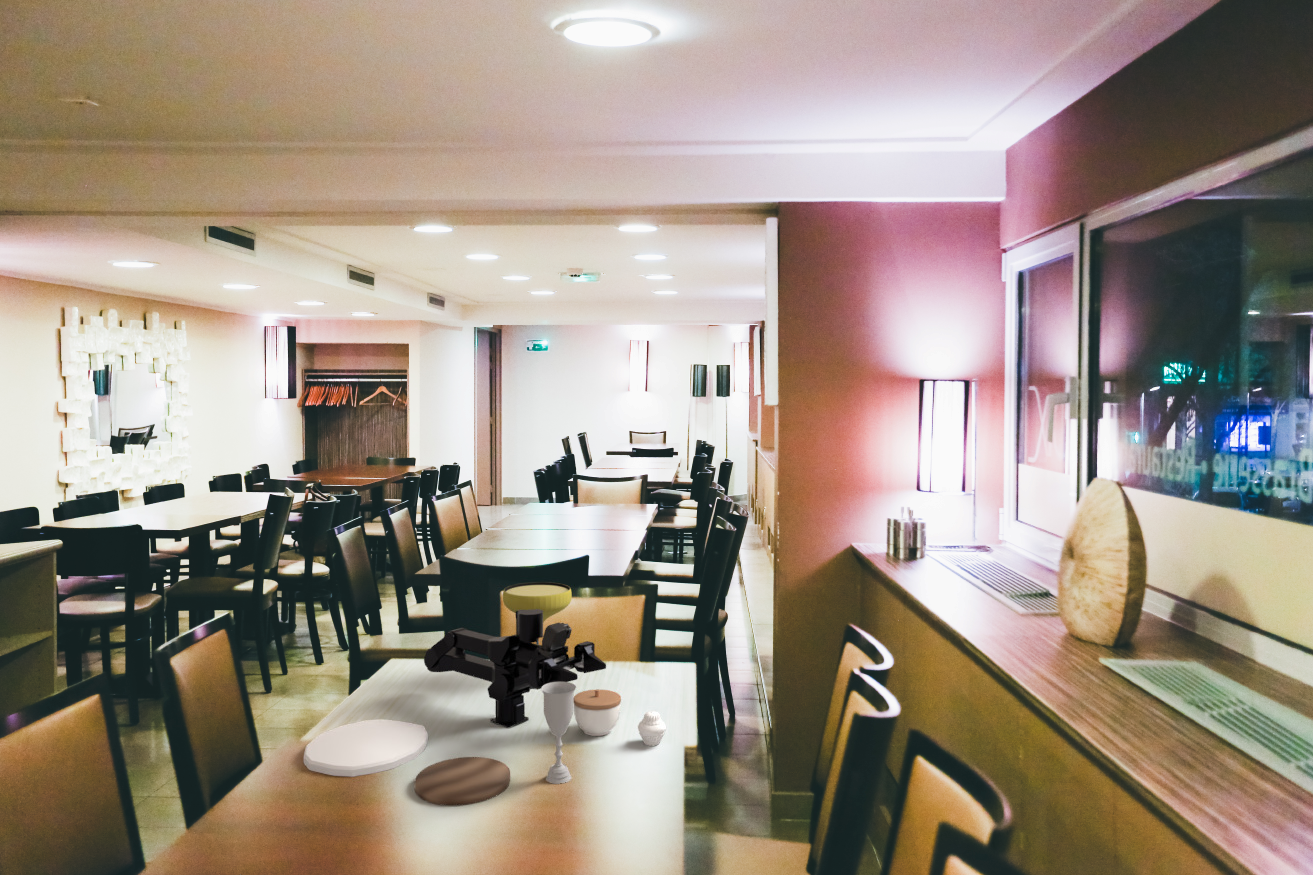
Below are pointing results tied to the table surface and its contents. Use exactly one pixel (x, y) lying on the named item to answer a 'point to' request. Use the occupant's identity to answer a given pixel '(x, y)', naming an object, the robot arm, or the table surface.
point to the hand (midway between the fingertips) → (591, 671)
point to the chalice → (558, 723)
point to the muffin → (651, 728)
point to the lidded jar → (597, 711)
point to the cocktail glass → (537, 598)
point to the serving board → (462, 781)
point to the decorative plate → (365, 747)
